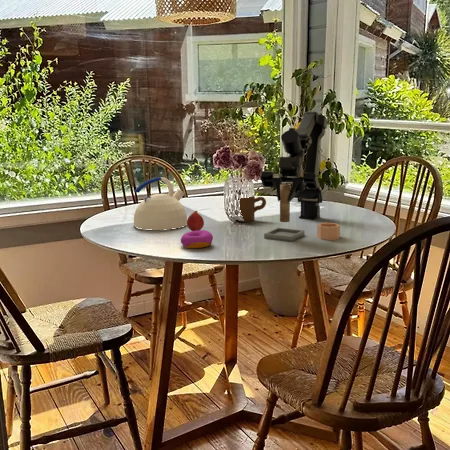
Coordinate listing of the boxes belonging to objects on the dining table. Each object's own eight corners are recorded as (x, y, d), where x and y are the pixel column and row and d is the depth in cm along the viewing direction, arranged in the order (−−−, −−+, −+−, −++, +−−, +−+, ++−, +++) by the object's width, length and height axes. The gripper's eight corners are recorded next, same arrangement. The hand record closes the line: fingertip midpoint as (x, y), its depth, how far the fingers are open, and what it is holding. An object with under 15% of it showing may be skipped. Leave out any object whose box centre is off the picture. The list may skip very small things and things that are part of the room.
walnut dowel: (277, 221, 173) (278, 184, 170) (285, 219, 175) (285, 183, 172) (284, 222, 171) (284, 186, 168) (291, 221, 172) (292, 185, 170)
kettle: (199, 225, 195) (198, 176, 191) (151, 234, 182) (148, 182, 178) (169, 217, 210) (167, 172, 206) (123, 224, 198) (120, 177, 194)
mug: (265, 218, 205) (265, 194, 203) (266, 222, 198) (266, 197, 196) (234, 218, 205) (234, 194, 203) (234, 222, 198) (234, 198, 196)
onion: (191, 235, 179) (190, 212, 177) (184, 232, 184) (183, 210, 182) (206, 233, 181) (206, 211, 180) (199, 230, 186) (199, 208, 185)
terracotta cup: (314, 239, 171) (315, 226, 170) (322, 235, 177) (322, 222, 176) (334, 242, 168) (335, 228, 167) (341, 237, 174) (342, 224, 173)
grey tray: (264, 239, 172) (264, 233, 172) (277, 233, 181) (277, 227, 180) (292, 243, 167) (292, 237, 167) (304, 236, 176) (304, 230, 175)
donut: (185, 241, 172) (185, 228, 171) (216, 242, 170) (215, 228, 169) (177, 250, 162) (177, 235, 161) (210, 250, 160) (209, 236, 159)
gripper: (261, 146, 175) (250, 184, 167) (317, 147, 167) (308, 187, 160) (269, 167, 183) (258, 204, 176) (322, 169, 176) (313, 207, 169)
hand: (283, 200), depth 170 cm, fingers closed on walnut dowel, 3 cm apart
